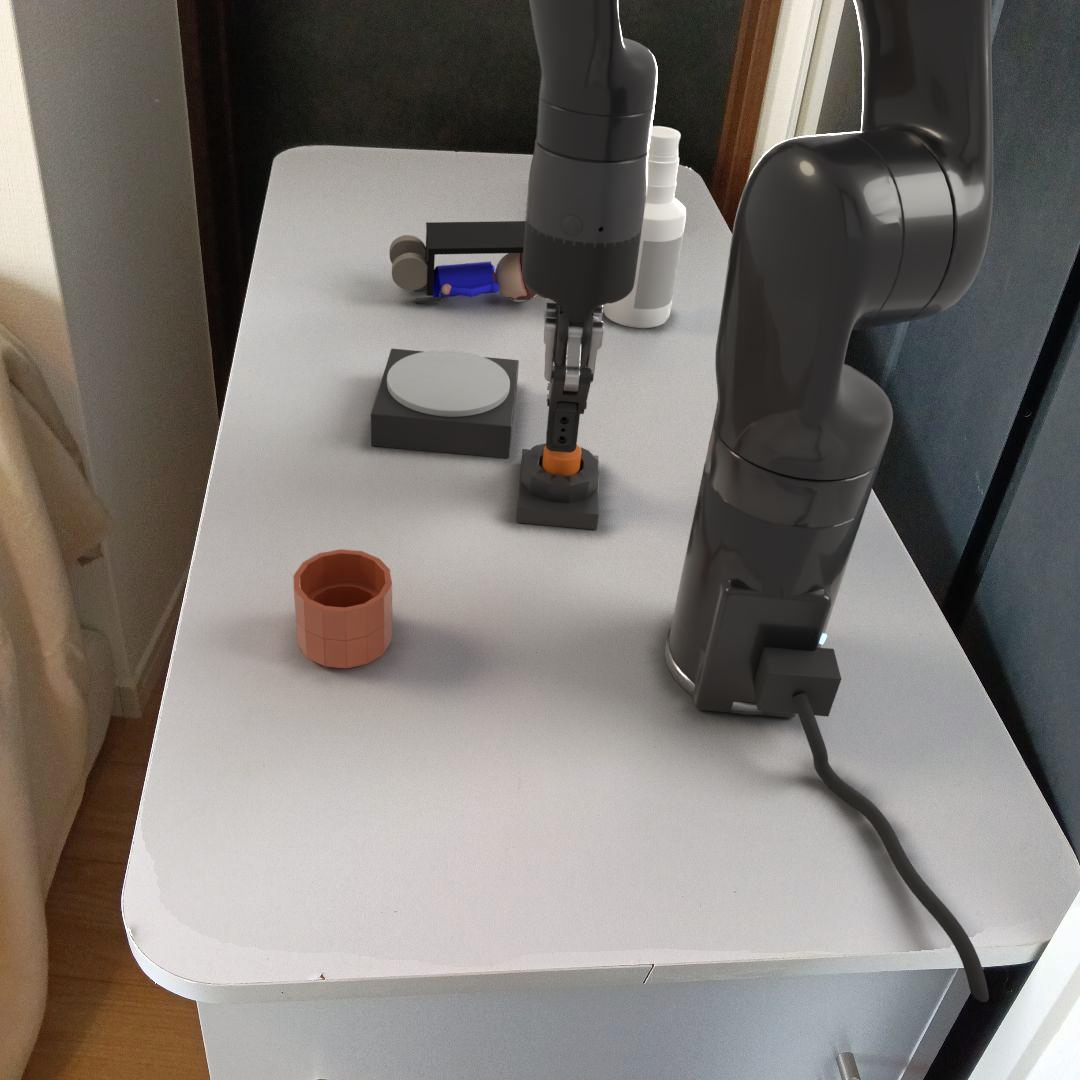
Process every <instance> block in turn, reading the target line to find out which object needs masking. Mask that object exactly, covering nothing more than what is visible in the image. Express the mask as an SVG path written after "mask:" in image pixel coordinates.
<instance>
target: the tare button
mask: <svg viewBox="0 0 1080 1080" xmlns="http://www.w3.org/2000/svg"><path fill="white" fill-rule="evenodd" d="M580 447H581V446H579V445H578V444H577V445H576V449H575V450H574V451H573V452H557V451H550V450H548V449H547V447H546V445H545V447H544V453H543V463H542V466H543V468H544V470H545V471H547V472H549V473H551V474H554V475H563V476H568V475H573V474H576V473H577V472H578V471H579V469H580V461H581V453H582V451H581V448H582V447H581V448H580Z"/></svg>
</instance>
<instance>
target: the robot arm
mask: <svg viewBox="0 0 1080 1080" xmlns="http://www.w3.org/2000/svg"><path fill="white" fill-rule="evenodd" d="M992 1H993V0H853V3H854V6H855V10H856V15H857V21H858V27H859V33H860V34H859V35H860V43H861V57H862V58H861V59H862V106H861V107H862V109H861V111H862V112H861V127H860V131H850V132H849V131H848V132H837V133H835V132H834V133H824V134H813V135H805V136H804V135H803V136H796V137H793V138H789V139H786V140H783V141H781V142H778V143H777V144H775V145H773V146H772V147H771V148H770V149H768V150H767V151H766V152H765V153H764V154H763V155H762V157H761V158H760V159H759V160H758V162H757V163H756V165H755V166H754V167H753V169H752V171H751V172H750V175H749V177H748V179H747V180H746V183H745V185H744V187H743V190H742V194H741V196H740V199H739V202H738V206H737V210H736V215H735V218H734V222H733V227H732V233H731V239H730V247H729V252H728V253H729V254H728V260H727V266H726V267H727V268H726V276H725V283H724V291H723V298H722V305H721V311H720V317H719V325H718V332H717V339H716V344H715V359H714V360H715V362H714V363H715V364H714V365H715V378H716V379H715V380H716V387H717V389H716V390H717V401H716V408H715V413H714V418H713V423H712V428H711V433H710V436H709V441H708V447H707V450H706V456H705V461H704V464H703V469H702V473H701V479H700V485H699V488H698V493H697V494H698V495H697V499H696V502H695V503H696V504H695V508H694V513H693V518H692V522H691V526H690V527H691V528H690V533H689V536H688V541H687V547H686V552H685V557H684V561H683V566H682V571H681V575H680V580H679V585H678V589H677V594H676V598H675V605H674V610H673V616H672V620H671V625H670V627H669V629H668V632H667V636H666V641H665V646H664V658H665V661H666V665H667V668H668V671H669V672H670V674H671V675H672V677H673V679H675V681H676V682H677V683H678V684H679V686H681V687H682V688H683V689H684V690H685V691H686V692H687V693H688V694H690V695H691V696H692V698H693V702H694V707H695V709H697V710H699V711H708V712H719V713H729V714H730V713H731V714H739V715H748V716H749V715H750V716H751V715H752V716H765V717H778V718H790V719H793V718H795V717H796V716H797V715H798V718H799V720H800V724H801V726H802V729H803V731H804V735H805V737H806V741H807V744H808V746H809V748H810V752H811V754H812V759H813V767H814V770H815V772H816V773H817V775H818V776H819V778H820V779H821V781H822V782H823V783H824V784H825V785H826V786H827V787H828V789H830V790H831V791H832V792H833V793H834V794H835V795H837V796H838V797H839V798H840V799H842V800H843V801H844V802H846V803H847V804H849V805H850V806H852V807H853V808H854V809H855V810H857V811H858V812H859V813H860V814H861V815H863V816H864V818H865V819H866V820H867V821H868V822H869V823H870V824H871V826H872V827H873V829H874V830H875V832H876V833H877V835H878V836H879V838H880V840H881V842H882V843H883V846H884V847H885V850H886V852H887V854H888V856H889V858H890V860H891V862H892V864H893V866H894V867H895V869H896V871H897V872H898V874H899V876H900V877H901V879H902V880H903V881H904V883H905V885H906V886H907V887H908V889H909V890H910V891H911V893H912V894H913V895H914V896H915V898H916V899H917V900H918V902H920V904H921V905H922V906H923V907H924V908H925V909H926V911H927V912H928V913H929V914H930V915H931V916H932V917H933V919H934V920H935V921H936V922H937V924H938V925H939V926H940V927H941V928H942V930H943V931H944V933H945V934H946V935H947V937H948V938H949V940H950V941H951V943H952V945H953V946H954V948H955V950H956V952H957V954H958V956H959V958H960V961H961V963H962V966H963V970H964V972H965V975H966V979H967V983H968V988H969V992H970V994H971V995H972V996H973V998H974V999H976V1000H977V1001H979V1002H981V1003H987V1002H988V1000H989V998H990V995H989V989H988V984H987V980H986V977H985V976H986V975H985V972H984V969H983V966H982V964H981V961H980V958H979V955H978V953H977V951H976V949H975V946H974V944H973V942H972V940H971V939H970V937H969V936H968V934H967V932H966V931H965V928H963V926H962V924H960V922H959V920H958V919H957V918H956V917H955V915H954V914H953V912H951V910H949V908H948V907H947V906H946V905H945V904H944V902H943V901H942V900H941V899H940V898H939V897H938V895H936V894H935V892H934V891H933V890H932V889H931V888H930V886H929V885H928V884H927V883H926V882H925V881H924V880H923V878H922V877H921V876H920V874H919V873H918V872H917V870H916V868H915V867H914V866H913V864H912V863H911V861H910V859H909V857H908V855H907V854H906V853H905V850H904V848H903V846H902V844H901V842H900V840H899V838H898V836H897V834H896V832H895V830H894V829H893V827H892V826H891V824H890V822H889V821H888V818H886V816H885V815H884V814H883V812H882V811H881V810H880V808H878V807H877V806H876V805H875V803H873V802H872V801H871V800H870V799H868V798H867V797H866V796H865V795H863V794H862V793H860V792H859V791H858V790H856V789H855V788H853V787H852V786H851V785H850V784H848V783H847V782H845V781H844V780H843V779H842V778H841V777H840V776H839V775H838V774H837V773H836V772H835V770H834V769H833V768H832V766H831V765H830V762H829V756H828V749H827V746H826V743H825V741H824V739H823V735H822V733H821V730H820V727H819V725H818V721H817V718H816V716H817V717H826V718H827V717H829V716H830V713H831V710H832V707H833V704H834V702H835V698H836V696H837V693H838V690H839V687H840V684H841V682H842V676H841V672H840V668H839V664H838V659H837V657H836V653H835V649H834V648H830V647H829V648H828V647H822V645H824V643H825V641H826V639H827V638H828V635H827V633H826V631H827V628H828V626H829V622H830V619H831V615H832V613H833V610H834V606H835V603H836V601H837V597H838V593H839V590H840V588H841V585H842V582H843V579H844V576H845V572H846V569H847V566H848V563H849V560H850V557H851V553H852V551H853V547H854V544H855V542H856V538H857V535H858V532H859V530H860V526H861V523H862V520H863V516H864V514H865V511H866V507H867V505H868V503H869V499H870V497H871V493H872V491H873V486H874V484H875V481H876V478H877V474H878V471H879V469H880V464H881V462H882V459H883V456H884V453H885V450H886V447H887V444H888V440H889V438H890V434H891V431H892V428H893V421H894V412H893V406H892V403H891V401H890V398H889V396H888V395H887V394H886V392H885V391H884V390H883V388H882V387H881V386H880V385H878V383H876V382H875V381H874V380H873V379H871V378H870V377H869V376H867V375H866V374H864V373H863V372H861V371H859V370H858V369H856V368H854V367H852V366H851V365H848V364H846V363H845V359H846V355H847V351H848V346H849V341H850V338H851V334H852V332H853V331H858V330H864V329H871V328H877V327H883V326H889V325H890V326H891V325H896V324H901V323H907V322H913V321H918V320H923V319H927V318H930V317H933V316H935V315H938V314H941V313H943V312H945V311H947V310H949V309H951V308H952V307H953V306H955V304H957V303H958V302H959V301H960V300H961V299H962V297H963V296H965V294H966V293H967V292H968V290H969V289H970V288H971V286H972V284H973V283H974V281H975V279H976V277H977V275H978V273H979V271H980V268H981V266H982V263H983V261H984V258H985V254H986V250H987V246H988V244H989V243H988V242H989V237H990V231H991V224H992V215H993V205H994V202H993V201H994V113H993V110H994V109H993V64H992V63H993V61H992V60H993V59H992V57H993V56H992V55H993V54H992V53H993V52H992V3H993V2H992ZM528 5H529V10H530V16H531V24H532V30H533V31H532V32H533V36H534V42H535V46H536V49H537V50H536V51H537V56H538V63H539V70H540V71H539V72H540V78H539V86H538V87H539V88H538V103H537V117H536V129H535V140H534V148H533V153H532V158H531V163H530V166H529V167H530V168H529V174H528V182H527V195H526V209H525V221H526V222H525V235H524V249H523V263H522V278H523V281H524V283H525V284H526V286H527V287H528V288H529V289H530V290H531V291H533V292H534V293H536V294H537V295H536V296H539V297H541V298H543V299H548V300H546V301H545V310H544V328H543V343H544V345H545V351H544V370H543V371H544V372H543V377H544V379H545V380H546V381H547V385H546V390H547V391H548V394H547V395H546V406H547V407H548V412H547V413H548V415H547V422H546V423H547V425H546V433H545V434H546V436H545V443H546V447H547V449H548V450H550V451H557V452H573V451H574V450H575V449H576V445H578V444H577V443H578V437H579V436H578V434H579V426H580V418H581V415H584V414H585V410H587V406H588V405H587V404H588V402H587V401H588V397H589V393H590V389H591V385H592V383H593V382H594V379H595V373H596V372H595V370H596V363H597V357H598V356H597V355H598V351H599V350H600V349H601V348H602V345H603V339H604V338H603V337H604V330H605V329H604V328H605V327H604V326H605V322H604V321H603V314H604V313H603V305H604V304H607V303H609V304H611V303H615V302H617V301H620V300H622V299H623V298H625V297H626V296H628V295H629V294H630V292H631V291H632V289H633V287H634V283H635V276H636V269H637V262H638V254H639V247H640V239H641V232H642V224H643V217H644V210H645V203H646V196H647V184H648V149H649V144H650V137H651V129H652V126H653V120H654V115H655V105H656V98H657V88H658V87H657V86H658V65H657V61H656V58H655V56H654V54H653V53H652V52H651V51H650V49H649V48H648V47H647V46H645V45H643V44H641V43H640V42H638V41H635V40H633V39H629V38H626V37H623V35H622V28H621V23H620V15H619V13H620V12H619V0H528Z"/></svg>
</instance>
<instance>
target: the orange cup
mask: <svg viewBox="0 0 1080 1080" xmlns="http://www.w3.org/2000/svg"><path fill="white" fill-rule="evenodd" d="M392 580H393V579H392V572H391V569H390V568H389V567H388V566H387V565H386V564H385V563H384V561H382V559H381V558H379V557H377V556H375V555H372V554H370V553H368V552H365V551H362V550H354V549H344V548H343V549H342V548H341V549H340V548H339V549H334V550H329V551H324V552H320V553H317V554H316V555H314V556H312V557H310V558H308V559H307V560H304V561H303V562H302V563H301V564H300V566H299V567H298V568H297V569H296V571H295V572H294V574H293V579H292V581H293V598H294V599H293V600H294V612H295V626H296V627H295V628H296V642H297V646H298V648H299V649H300V651H302V653H303V654H304V655H305V657H306V658H307V659H308V660H310V661H313V662H315V663H317V664H318V665H320V666H323V667H328V668H329V667H330V668H334V669H351V668H357V667H360V666H364V665H367V664H370V663H372V662H373V661H375V660H376V659H378V658H379V657H381V656H383V655H384V653H386V651H387V649H388V647H389V646H390V644H391V642H392V640H393V581H392Z"/></svg>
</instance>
